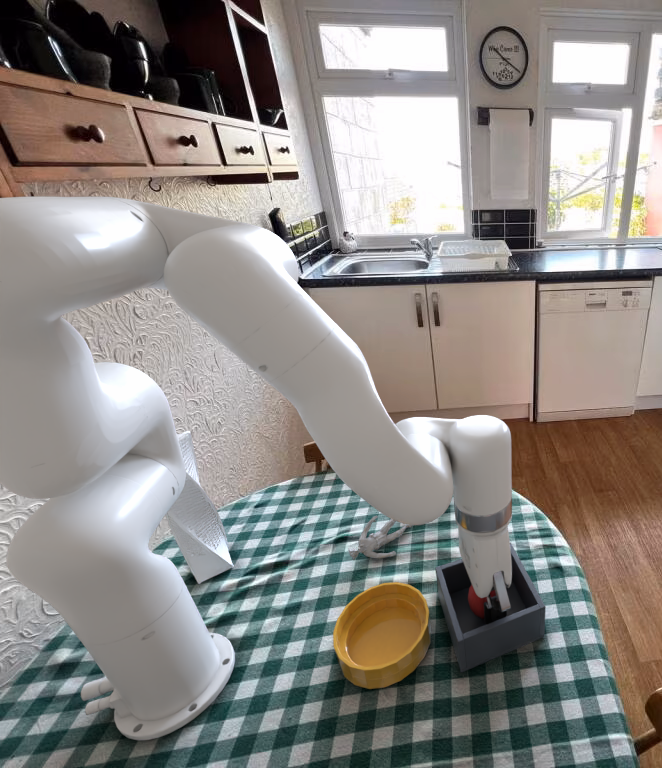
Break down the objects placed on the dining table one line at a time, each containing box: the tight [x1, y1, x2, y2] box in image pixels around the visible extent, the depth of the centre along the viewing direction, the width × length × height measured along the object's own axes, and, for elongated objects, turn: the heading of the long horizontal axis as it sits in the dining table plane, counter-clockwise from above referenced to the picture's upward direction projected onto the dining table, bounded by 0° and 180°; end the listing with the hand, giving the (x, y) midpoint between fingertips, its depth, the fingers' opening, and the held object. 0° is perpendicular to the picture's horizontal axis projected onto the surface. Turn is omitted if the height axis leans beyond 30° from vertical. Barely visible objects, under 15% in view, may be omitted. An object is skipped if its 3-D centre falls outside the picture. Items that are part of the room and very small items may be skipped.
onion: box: [468, 585, 507, 619], centre depth 61 cm, size 6×6×8 cm
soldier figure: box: [347, 515, 414, 561], centre depth 75 cm, size 8×5×12 cm
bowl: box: [332, 581, 433, 690], centre depth 59 cm, size 13×13×4 cm
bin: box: [434, 541, 546, 673], centre depth 62 cm, size 13×13×7 cm
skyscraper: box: [164, 430, 235, 585], centre depth 66 cm, size 8×8×28 cm
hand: (487, 599), depth 62 cm, fingers closed on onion, 5 cm apart
